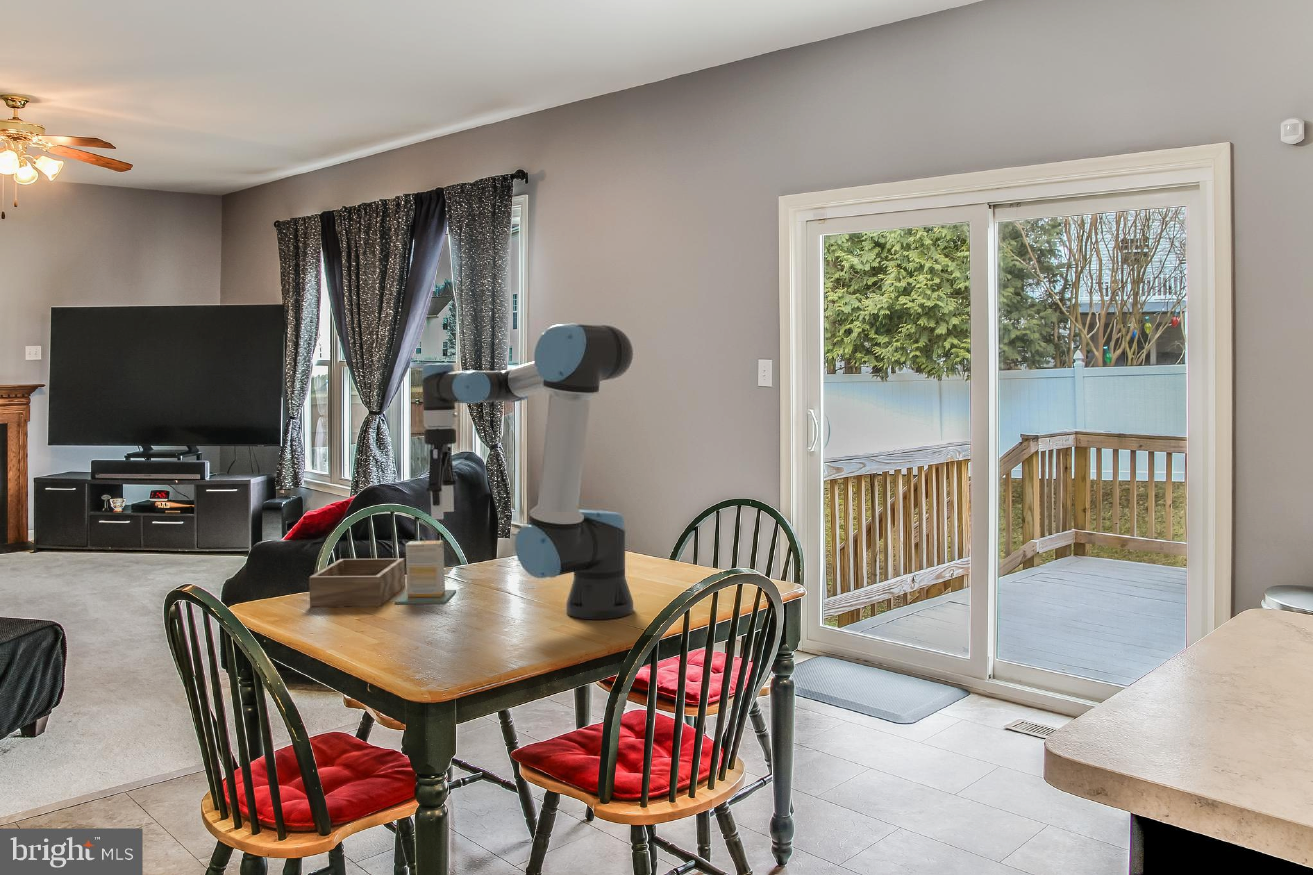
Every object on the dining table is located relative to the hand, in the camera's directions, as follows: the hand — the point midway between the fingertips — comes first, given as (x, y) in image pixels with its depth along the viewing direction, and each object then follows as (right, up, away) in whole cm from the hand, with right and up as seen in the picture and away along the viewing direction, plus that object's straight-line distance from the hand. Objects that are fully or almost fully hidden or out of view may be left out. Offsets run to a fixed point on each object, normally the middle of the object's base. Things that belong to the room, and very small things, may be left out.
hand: (443, 515), depth 235 cm
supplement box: (-4, -20, -1) cm, 20 cm away
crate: (-21, -20, +2) cm, 29 cm away
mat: (-4, -20, -1) cm, 20 cm away
